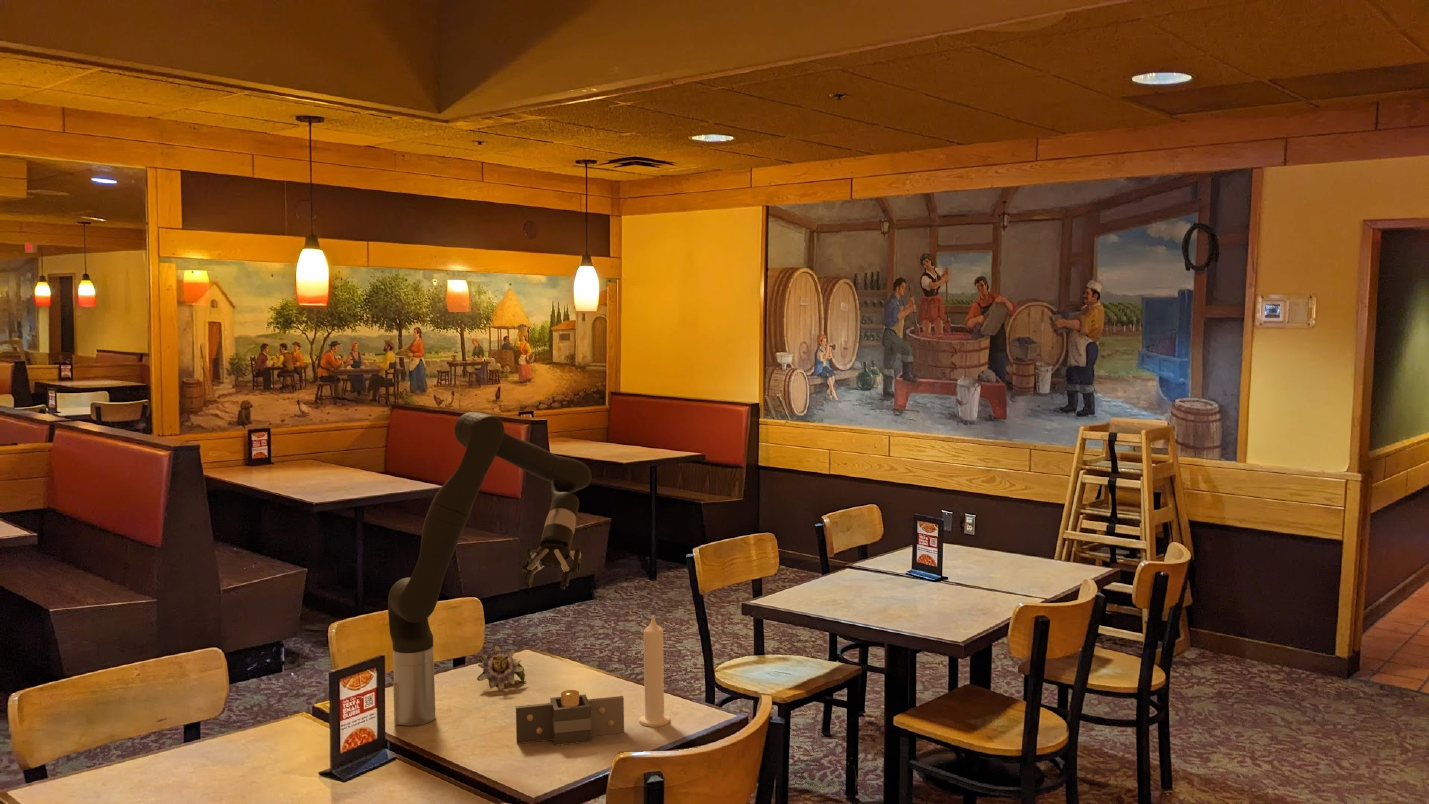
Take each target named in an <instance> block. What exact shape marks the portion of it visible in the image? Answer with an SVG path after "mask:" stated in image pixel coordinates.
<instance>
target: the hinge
mask: <svg viewBox="0 0 1429 804" xmlns="http://www.w3.org/2000/svg"><path fill="white" fill-rule="evenodd" d="M549 701H550V702H548V703H538V704H526V705H518V706H517V705H516V706H515V725H516V727H515V730H516V731H515V732H516V734H515V735H516V736H515V737H516V738H515V739H516V744H525V743H535V742H542V741H543V740H546V741H553V743H554V746H559V745H560V746H561V744H563V745H570V743H573V744H580V743H591V742H592V736H600V735H611V734H618V733H620V732H621V733H624V732H625V709H624V708H625V707H624V705H625V702H624V696H623V695H620V696H609V697H598V698H588V697H587V695H586V694H585V693H584V694H579V706H573V707H563V708H561V696H557V697H555V696H554V697H550V700H549ZM543 742H544V741H543Z"/></svg>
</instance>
